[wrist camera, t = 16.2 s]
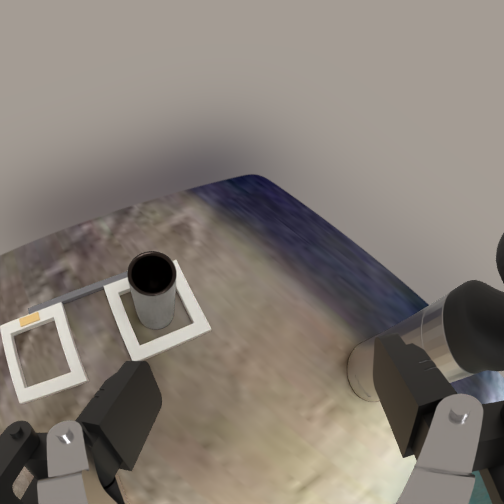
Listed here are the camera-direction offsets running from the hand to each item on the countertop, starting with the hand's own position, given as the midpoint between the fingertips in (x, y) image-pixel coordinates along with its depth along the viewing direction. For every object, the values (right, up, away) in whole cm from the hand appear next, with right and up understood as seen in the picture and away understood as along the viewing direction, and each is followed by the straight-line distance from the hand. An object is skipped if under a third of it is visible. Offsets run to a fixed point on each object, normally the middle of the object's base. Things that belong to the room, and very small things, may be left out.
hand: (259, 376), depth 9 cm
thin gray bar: (-21, -1, +22) cm, 31 cm away
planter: (-12, -3, +24) cm, 27 cm away
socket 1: (-25, -8, +16) cm, 31 cm away
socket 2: (-12, -3, +24) cm, 27 cm away
